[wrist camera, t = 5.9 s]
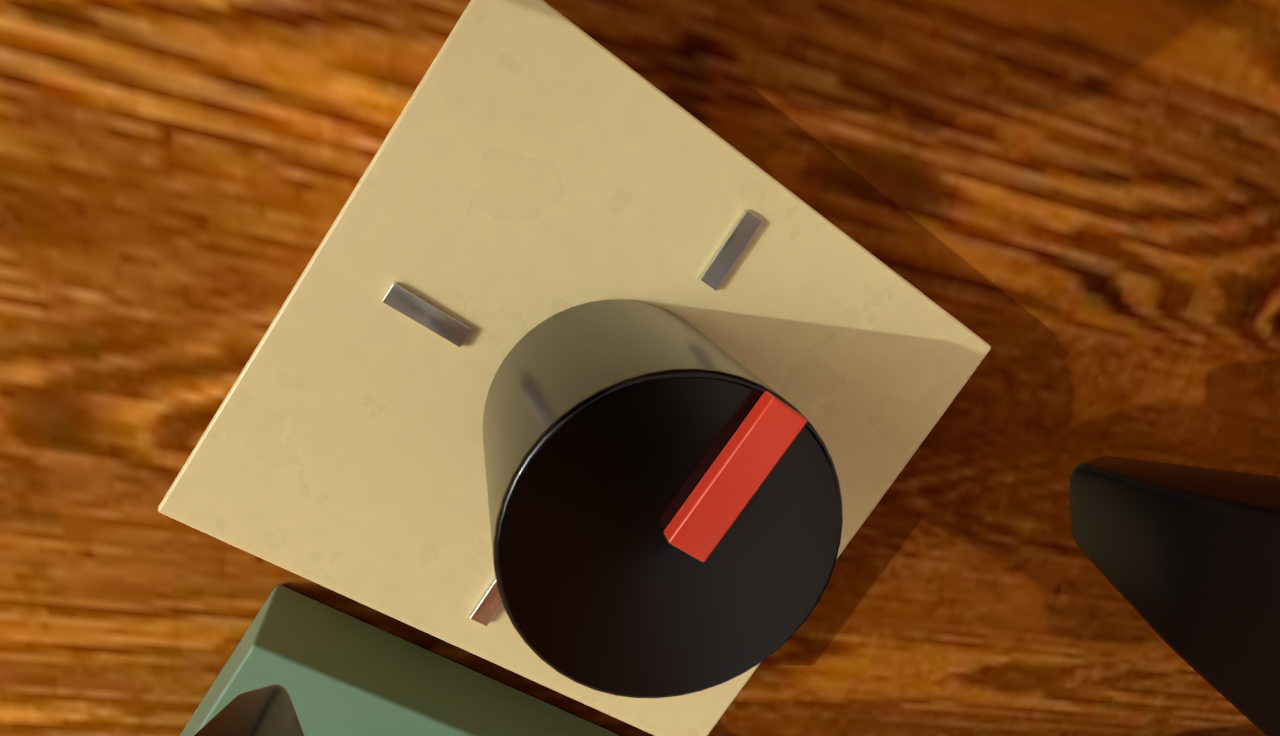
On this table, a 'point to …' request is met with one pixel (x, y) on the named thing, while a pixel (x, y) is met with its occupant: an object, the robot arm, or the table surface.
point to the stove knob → (651, 503)
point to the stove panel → (520, 300)
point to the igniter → (371, 681)
